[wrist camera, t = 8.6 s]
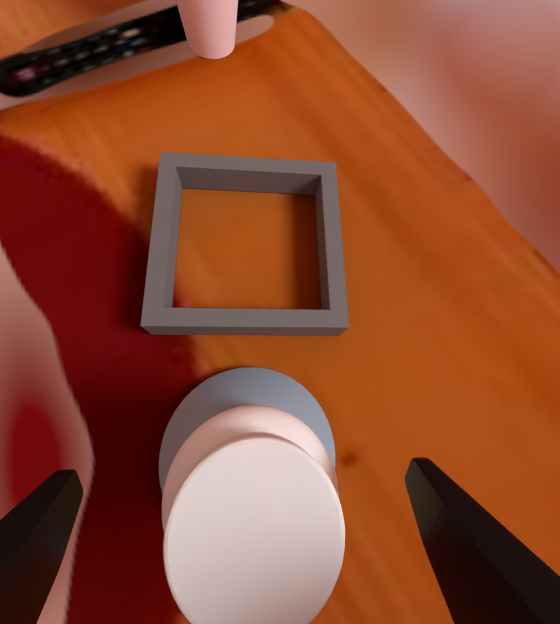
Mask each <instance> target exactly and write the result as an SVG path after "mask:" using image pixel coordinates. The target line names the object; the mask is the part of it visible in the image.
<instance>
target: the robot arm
mask: <svg viewBox="0 0 560 624" xmlns="http://www.w3.org/2000/svg"><path fill="white" fill-rule="evenodd" d="M405 484H406V488H407V491H408V494H409V498H410V501H411V505H412V508H413V512H414V515H415V518H416V522H417V525H418V529H419V532H420V535H421V539H422V542H423V545H424V548H425V550H426V553H427V556H428V558H429V561H430V563H431V566H432V568H433V571H434V573H435V576H436V578H437V581H438V584H439V586H440V589H441V591H442V594H443V596H444V599H445V601H446V604H447V606H448V609H449V612H450V614H451V617H452V619H453V622H454V624H560V576H559V575H558V574H556V573H555V572H554V571H553V570H552V569H551V568H550V567H549V566H548V565H546V564H545V563H544V562H543V561H542V560H541V559H540V558H539V557H537V556H536V555H535V554H534V553H533V552H532V551H531V550H530V549H529V548H527V547H526V546H525V545H524V544H523V543H522V542H521V541H520V540H519V539H517V538H516V537H515V536H514V535H513V534H512V533H511V532H510V531H509V530H507V529H506V528H505V527H504V526H503V525H502V524H501V523H500V522H499V521H497V520H496V519H495V518H494V517H493V516H492V515H491V514H490V513H489V512H487V511H486V510H485V509H484V508H483V507H482V506H481V505H480V504H479V503H477V502H476V501H475V500H474V499H473V498H472V497H471V496H470V495H469V494H467V493H466V492H465V491H464V490H463V489H462V488H461V487H460V486H459V485H457V484H456V483H455V482H454V481H453V480H452V479H451V478H450V477H449V476H447V475H446V474H445V473H444V472H443V471H442V470H441V469H440V468H439V467H437V466H436V465H435V464H434V463H433V462H432V461H431V460H429V459H428V458H425V457H421V458H413V459H412V460H411V462H410V464H409V467H408V470H407V472H406V475H405ZM82 496H83V488H82V485H81V483H80V480H79V477H78V475H77V472H76V471H75V470H58V471H56V472H54V473H53V474H52V475H51V476H50V477H48V478H47V479H46V480H45V481H44V482H43V483H42V484H40V485H39V486H38V487H37V488H36V489H35V490H34V491H33V492H32V493H30V494H29V495H28V496H27V497H26V498H25V499H23V500H22V501H21V502H20V503H19V504H18V505H17V506H16V507H14V508H13V509H12V510H11V511H10V512H9V513H8V514H6V515H5V516H4V517H3V518H2V519H1V520H0V624H36V623H37V620H38V618H39V616H40V614H41V611H42V609H43V606H44V604H45V602H46V599H47V597H48V595H49V592H50V590H51V588H52V585H53V583H54V581H55V578H56V576H57V573H58V571H59V568H60V565H61V562H62V560H63V556H64V553H65V550H66V547H67V544H68V541H69V538H70V534H71V532H72V529H73V525H74V522H75V519H76V516H77V513H78V510H79V507H80V503H81V500H82Z"/></svg>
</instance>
